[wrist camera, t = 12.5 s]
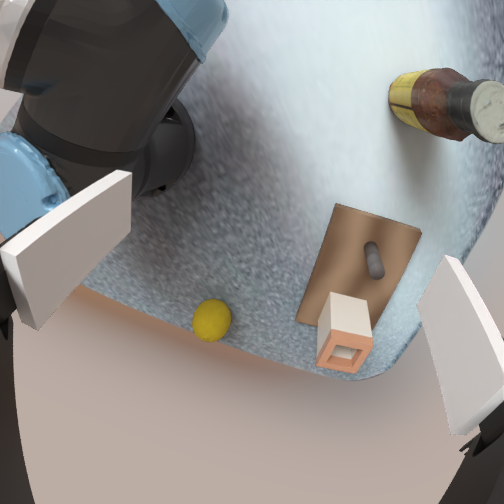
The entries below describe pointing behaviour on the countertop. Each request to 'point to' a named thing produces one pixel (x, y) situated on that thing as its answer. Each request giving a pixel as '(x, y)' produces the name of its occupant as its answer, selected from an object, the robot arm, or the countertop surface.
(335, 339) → the sleeve
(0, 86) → the robot arm
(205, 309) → the lemon
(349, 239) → the pin board
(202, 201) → the countertop surface
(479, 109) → the sauce bottle
